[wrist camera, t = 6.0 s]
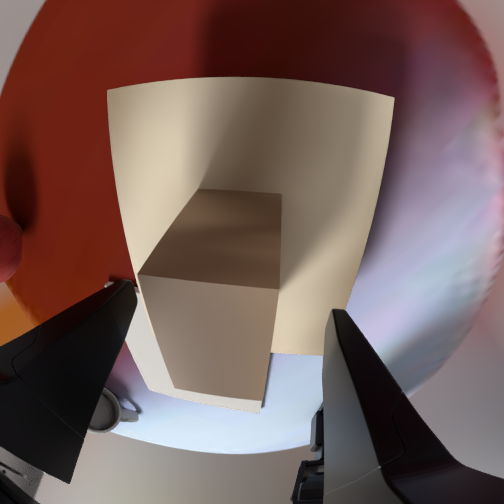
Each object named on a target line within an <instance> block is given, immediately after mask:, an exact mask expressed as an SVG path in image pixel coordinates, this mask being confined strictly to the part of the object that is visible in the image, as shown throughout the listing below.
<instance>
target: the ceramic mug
mask: <svg viewBox="0 0 504 504" xmlns="http://www.w3.org/2000/svg"><path fill="white" fill-rule="evenodd" d="M138 420H139V419H138V412H136V411H133V410H128V409H122V408H121V407H120V404H119V401H118V400H117V398H116V397H115V395H114V394H113V393H112V392H111V391H110V390H108V389H107V388H105V387H104V389H103V392H102V394H101V397H100V399H99V402H98V404H97V407H96V409H95V412H94V414H93V417H92V420H91V422H90V425H89V428H88V430H87V432H90V433H94V434H100V433H106V432H109V431H111V430H113V429H114V428H115V427H116V426H117V425H118V423H119V421H121V422H137V421H138Z"/></svg>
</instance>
